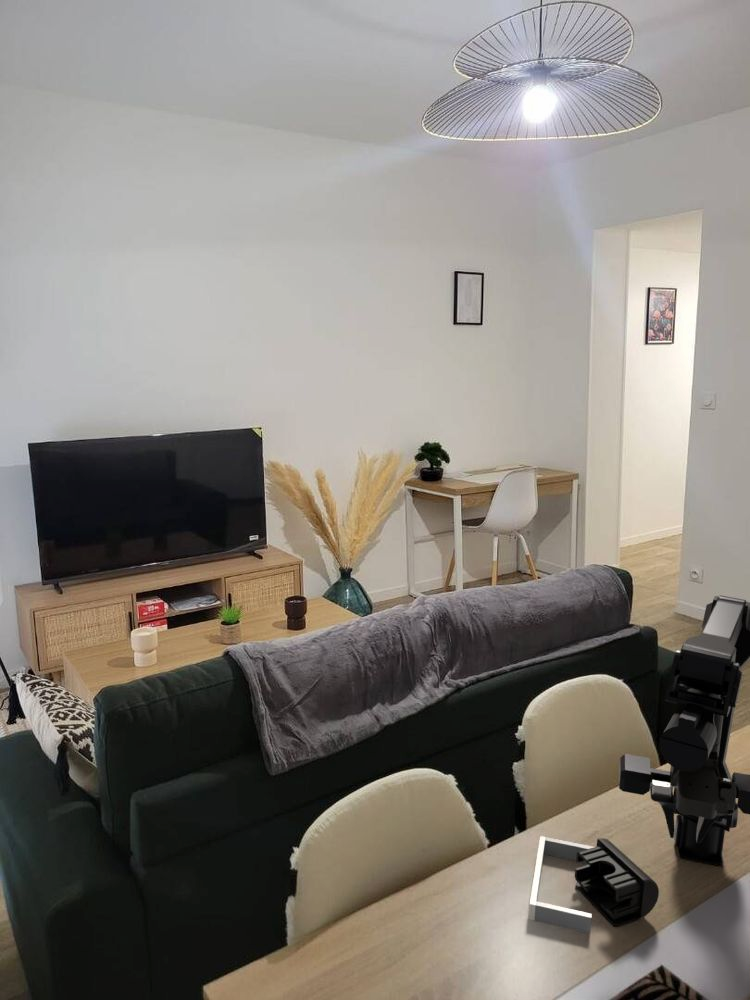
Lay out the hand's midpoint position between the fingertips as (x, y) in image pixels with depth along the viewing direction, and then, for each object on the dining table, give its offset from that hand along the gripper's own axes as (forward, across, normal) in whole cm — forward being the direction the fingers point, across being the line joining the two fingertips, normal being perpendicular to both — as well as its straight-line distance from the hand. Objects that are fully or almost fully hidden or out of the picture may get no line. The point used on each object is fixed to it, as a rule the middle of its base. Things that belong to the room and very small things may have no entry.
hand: (684, 838), depth 107 cm
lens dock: (+12, -16, 0) cm, 20 cm away
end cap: (+12, -8, 0) cm, 15 cm away
